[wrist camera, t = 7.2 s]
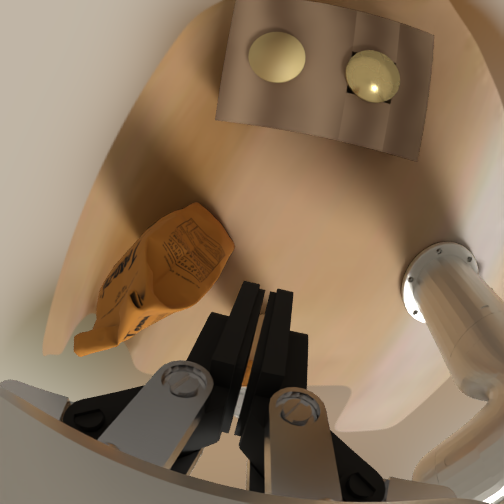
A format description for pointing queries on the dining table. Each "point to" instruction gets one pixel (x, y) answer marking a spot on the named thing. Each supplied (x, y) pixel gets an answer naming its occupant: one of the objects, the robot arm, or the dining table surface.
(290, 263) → the dining table surface
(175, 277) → the coffee package
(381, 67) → the brass peg
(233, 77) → the walnut block
